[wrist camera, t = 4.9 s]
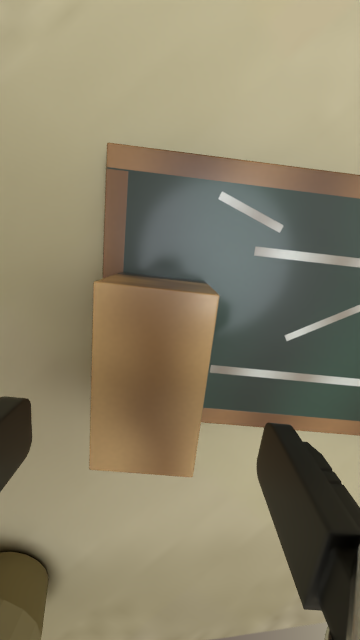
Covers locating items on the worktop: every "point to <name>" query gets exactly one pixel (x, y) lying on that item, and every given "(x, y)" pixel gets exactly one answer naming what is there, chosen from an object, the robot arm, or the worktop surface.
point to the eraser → (149, 372)
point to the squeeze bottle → (21, 597)
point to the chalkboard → (252, 276)
